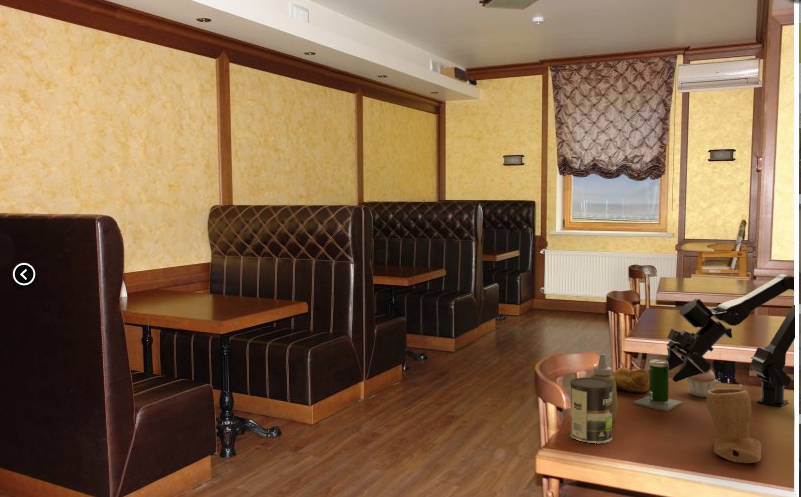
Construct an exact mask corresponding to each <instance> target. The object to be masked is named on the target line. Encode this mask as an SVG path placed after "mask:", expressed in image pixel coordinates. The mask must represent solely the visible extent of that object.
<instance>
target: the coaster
mask: <svg viewBox="0 0 801 497" xmlns="http://www.w3.org/2000/svg"><path fill="white" fill-rule="evenodd" d="M633 404H634V405H638V406H643V407H645V408H650V409H655V410H659V411H660V410H661V411H664V412H669V411H670V410H673V409H674V408H677V407H678V406H679V407H680V406H681V405H682V404H683V401H680V400H677V399H672V398H669V400H668V402H667V403H666V404H655V403H652V402H650V400H649V394H648V395H646V396H644V397H642V398H641V397H640V398H639V399H636V400H634V401H633Z"/></svg>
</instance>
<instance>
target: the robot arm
mask: <svg viewBox="0 0 801 497" xmlns="http://www.w3.org/2000/svg"><path fill="white" fill-rule="evenodd" d="M794 277H795V276H793V275H789V274H783V273H781V274H779V275H777V276H775V278H773V279H772V280H770V281H768V282H766V283H763V285H761V286H759V287H757V288H755V289H754V290H753V291H751V292H749V293H748V294H745V295H744V296H741V297H739V298H735V299H731V300H727V301H724V302H722V303H720V304H718V305H717V306H715V307H710V308H708V306H706V305H705V304H704V302H703V301H702V300H701V299H700V298H698V297H695V298H694V299H693V300H691V301H688V302H687V303H686V304H683V306H682V307H681V308H680V310H679V315H680V316H681V317H682V318H683V319H684V320H685V321H687V322H688V323H689V325H691V326H692V327H693V328H695V329H696V328H699V329H698V330H697V331H696V332H695V333H694V332H688V331H686V330H682V331H679V330H677V329H674V328H671V329H670V331H669V333H668V335H667V337H666V338H667V339H669V340H670V341H669V342H668V343H667V344H666V350H667V357H666V359H665V361H668V365H669V372H670V371H672V370H674V369H675V368H677V367H679V366H681V365H682V366H681V367H680V368H679V369H678V371H677V372H676V373H675V375H674V376H673V378H672V381H673V382H674V383H677V382H679V381H682V380H686V378H688V377H691V376H695V375H698V374H703V372H705V373H707V372H708V371H709V370H712V368H711V367H712V365H711V363H710V362H709V361H708V360H707V359H706V358H705V355H706V353H707V352H708V351H710V352H713V350H714V347H713V346H714V345H715V344H716V343H718V342H719V340H720V339H721V338H723V336H724V337H726V338H728V339H732V338H733V334H732V328H730V327H726V326H725V325H726V324H727V325H729V326H732V327H734V326H739V325H740V324H742V322H744V321H745V320H746V319H748V318H749V316H750V314H752V312H753V311H755V310H756V309H757V308H759V307H761V306H763V305H765V304H766V303H768V302H770V301H772V300H774V298H776V297H778V296H780V295H782V294H783V293H785V292H787V291H789V290H792V291H795V290H794ZM713 318H714V319H716V320H717V321H715V320H714V319H713ZM723 323H724V324H725V325H724V324H723ZM795 339H796V338H795V305H794V303H793V304H792V306H791V308H790V309H789V311H788V312H787V315H786V316H785V318H784V319H783V321H782V323H781V324H780V326H779V327H778V329H777V331H776V332H775V334H774V336H773V338H772V339H771V341H770V342H769V344H768V345H767V346H765V347H764V348H762V347H760V346H758V347H757V348H756V350H755V352H754V355H753V356H751V357H750V359H752V360H751V362H750V366H751V369H752V371H753V372H754V373H755V375H756V377H757V379H759V380H761V397H760V398H759V399H757V400H756V402H757V403H760V404H764V405H770V406H774V407H779V408H781V407H783V406H784V405H786V404H788V403H789V400H786V399H785V387H786V386H790V384H791V381H792V378H791V377H790V376H789V375H788V374H787V373H786V372H785V371H784V368H785V366H786V360H787V359H786V358H787V353H788V351H789V349H790V347H791V346H792V345H793V342H794V341H795ZM702 371H703V372H702Z"/></svg>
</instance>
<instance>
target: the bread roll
mask: <svg viewBox="0 0 801 497" xmlns="http://www.w3.org/2000/svg"><path fill="white" fill-rule="evenodd" d="M613 376H614V377H615V382H616V390H618V389H619V391H626V392H629V393H633V392H635V393H634V394H642V393H645V392H647V391H649V371H648V370H646V369H644V368H633V369H629V368H627V367H619V368H618V369H616V370H615V371H614V373H613Z"/></svg>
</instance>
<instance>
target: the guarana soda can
mask: <svg viewBox="0 0 801 497" xmlns="http://www.w3.org/2000/svg"><path fill="white" fill-rule="evenodd" d="M648 368H649V369H648V373H649V389H648V395H649V400H650V402H652V403H655V404H666V403H667V402H668V400H669V399H670V398H669V397H670V396H669V394H670V391H669V390H670V388H669V386H670V379H669V378H670V371H669V365H668V361H666V359H656V358H655V359H650V360H649V363H648Z"/></svg>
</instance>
